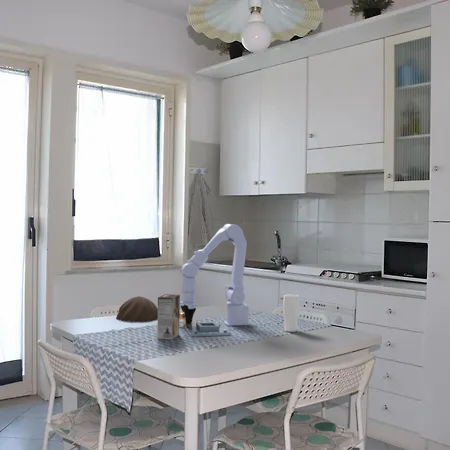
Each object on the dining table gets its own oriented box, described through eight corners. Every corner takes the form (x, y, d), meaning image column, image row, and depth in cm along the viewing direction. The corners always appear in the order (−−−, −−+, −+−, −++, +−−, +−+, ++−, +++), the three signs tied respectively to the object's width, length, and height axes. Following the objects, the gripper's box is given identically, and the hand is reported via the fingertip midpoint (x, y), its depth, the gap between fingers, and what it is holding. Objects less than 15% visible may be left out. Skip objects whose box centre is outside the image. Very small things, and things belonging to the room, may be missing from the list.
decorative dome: (131, 312, 267) (132, 292, 267) (167, 316, 259) (167, 295, 259) (107, 319, 250) (107, 297, 249) (145, 323, 241) (145, 301, 241)
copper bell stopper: (191, 324, 241) (191, 311, 240) (193, 326, 237) (193, 312, 237) (177, 325, 239) (178, 311, 239) (179, 327, 235) (179, 312, 235)
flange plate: (222, 327, 236) (222, 320, 236) (231, 335, 221) (231, 327, 221) (185, 328, 233) (185, 321, 233) (191, 336, 217) (191, 329, 217)
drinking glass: (280, 331, 231) (281, 295, 230) (286, 328, 237) (286, 293, 236) (295, 333, 227) (296, 296, 227) (301, 330, 233) (302, 294, 233)
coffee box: (164, 333, 221) (164, 293, 221) (179, 334, 220) (180, 294, 220) (156, 338, 212) (157, 297, 212) (172, 339, 211) (173, 297, 211)
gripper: (176, 289, 244) (176, 319, 244) (181, 294, 230) (181, 326, 230) (192, 289, 246) (191, 319, 246) (198, 293, 231) (197, 326, 232)
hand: (187, 322), depth 238 cm, fingers open, 4 cm apart
